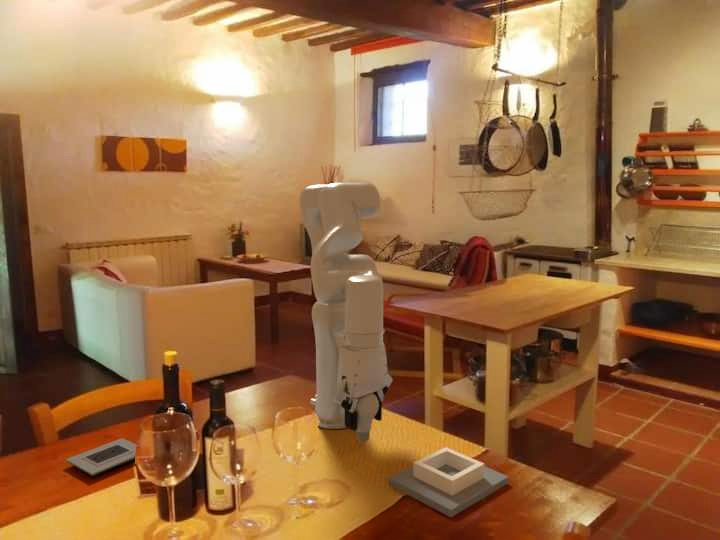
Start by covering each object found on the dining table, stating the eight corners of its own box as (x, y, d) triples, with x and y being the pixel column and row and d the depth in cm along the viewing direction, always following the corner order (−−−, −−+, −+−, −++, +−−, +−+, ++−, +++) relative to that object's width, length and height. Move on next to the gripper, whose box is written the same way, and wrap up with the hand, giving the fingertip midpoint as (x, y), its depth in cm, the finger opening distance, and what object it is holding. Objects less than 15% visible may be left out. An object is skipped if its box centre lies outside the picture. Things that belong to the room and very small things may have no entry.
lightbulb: (372, 432, 127) (373, 383, 125) (382, 446, 121) (383, 394, 119) (344, 436, 125) (344, 386, 123) (353, 450, 119) (354, 398, 117)
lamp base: (388, 484, 121) (388, 463, 120) (446, 456, 133) (446, 437, 132) (450, 517, 109) (451, 494, 109) (508, 483, 121) (508, 462, 121)
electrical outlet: (92, 483, 123) (91, 472, 122) (66, 468, 129) (65, 457, 129) (149, 459, 133) (148, 449, 133) (122, 446, 139) (122, 436, 139)
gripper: (381, 325, 127) (380, 406, 131) (317, 342, 116) (318, 429, 119) (407, 333, 122) (406, 417, 125) (343, 352, 110) (343, 443, 114)
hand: (363, 422), depth 122 cm, fingers closed on lightbulb, 6 cm apart
